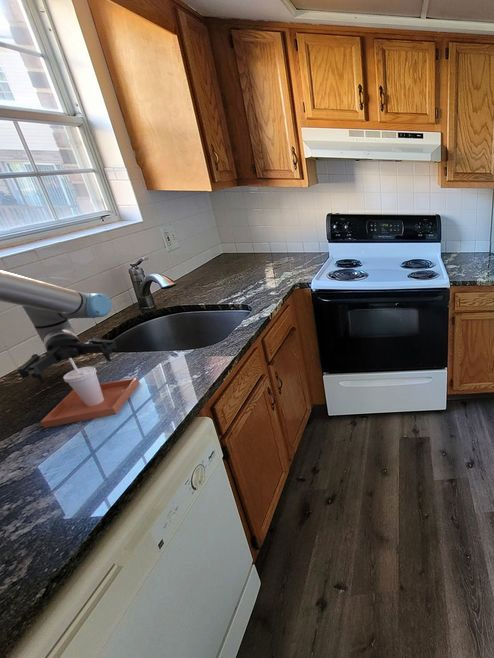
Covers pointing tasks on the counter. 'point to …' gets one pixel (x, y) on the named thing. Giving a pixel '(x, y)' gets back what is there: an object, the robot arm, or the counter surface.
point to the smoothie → (85, 384)
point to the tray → (78, 410)
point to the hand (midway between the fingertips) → (75, 367)
